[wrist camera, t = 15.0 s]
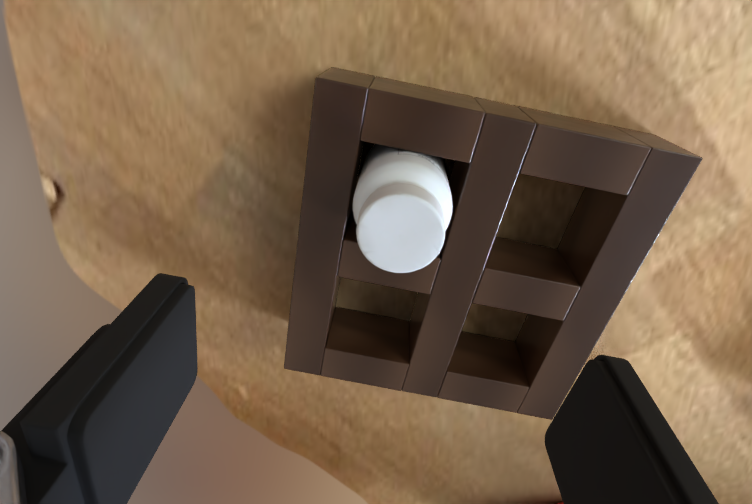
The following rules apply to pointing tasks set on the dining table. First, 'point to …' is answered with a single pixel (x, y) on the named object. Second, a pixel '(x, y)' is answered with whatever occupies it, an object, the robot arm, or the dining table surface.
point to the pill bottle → (401, 208)
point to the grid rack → (474, 243)
